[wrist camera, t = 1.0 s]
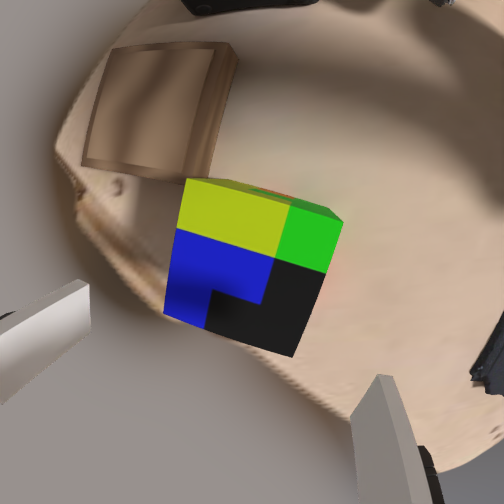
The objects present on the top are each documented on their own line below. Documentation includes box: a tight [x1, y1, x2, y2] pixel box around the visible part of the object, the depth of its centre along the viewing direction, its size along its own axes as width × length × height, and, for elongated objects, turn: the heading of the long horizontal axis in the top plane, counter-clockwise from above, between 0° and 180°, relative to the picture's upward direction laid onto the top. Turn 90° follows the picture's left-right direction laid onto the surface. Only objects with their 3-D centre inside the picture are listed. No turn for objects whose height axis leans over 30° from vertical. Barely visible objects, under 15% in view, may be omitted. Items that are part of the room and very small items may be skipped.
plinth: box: [81, 42, 239, 185], centre depth 23 cm, size 14×14×4 cm
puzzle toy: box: [163, 178, 344, 358], centre depth 22 cm, size 10×10×10 cm
